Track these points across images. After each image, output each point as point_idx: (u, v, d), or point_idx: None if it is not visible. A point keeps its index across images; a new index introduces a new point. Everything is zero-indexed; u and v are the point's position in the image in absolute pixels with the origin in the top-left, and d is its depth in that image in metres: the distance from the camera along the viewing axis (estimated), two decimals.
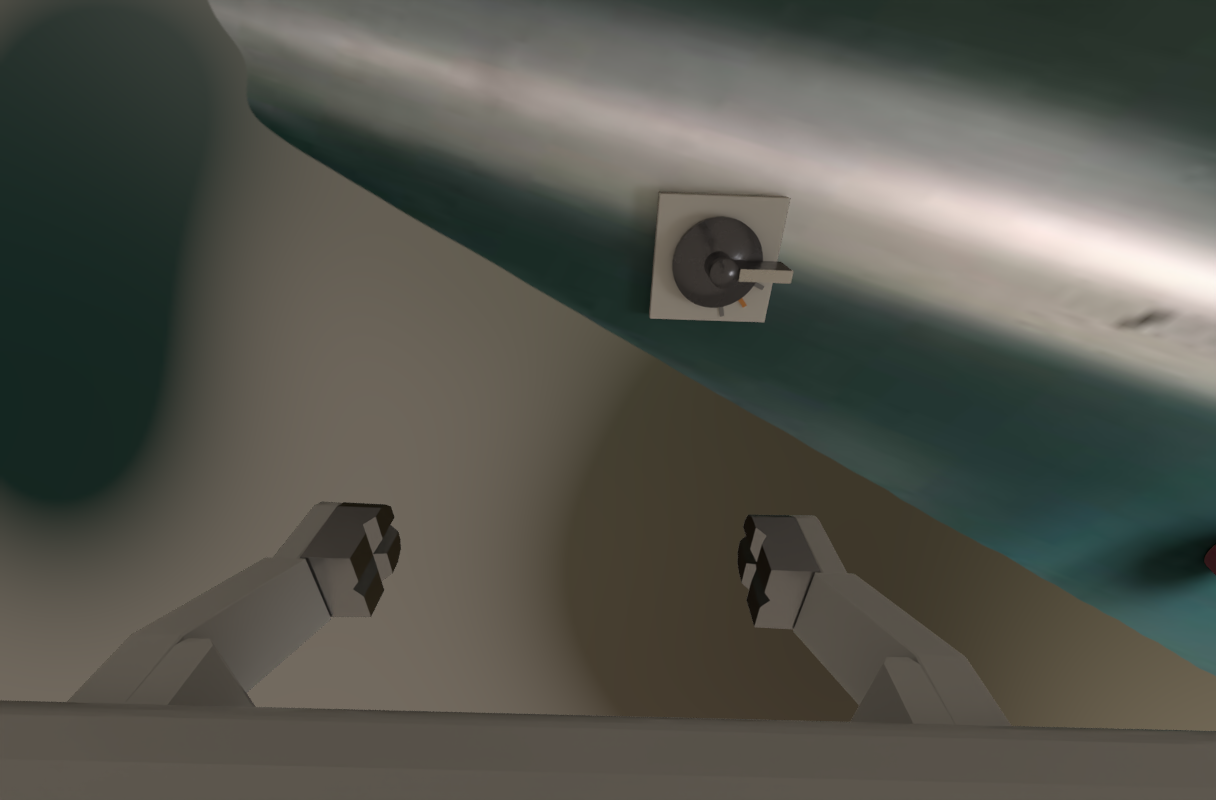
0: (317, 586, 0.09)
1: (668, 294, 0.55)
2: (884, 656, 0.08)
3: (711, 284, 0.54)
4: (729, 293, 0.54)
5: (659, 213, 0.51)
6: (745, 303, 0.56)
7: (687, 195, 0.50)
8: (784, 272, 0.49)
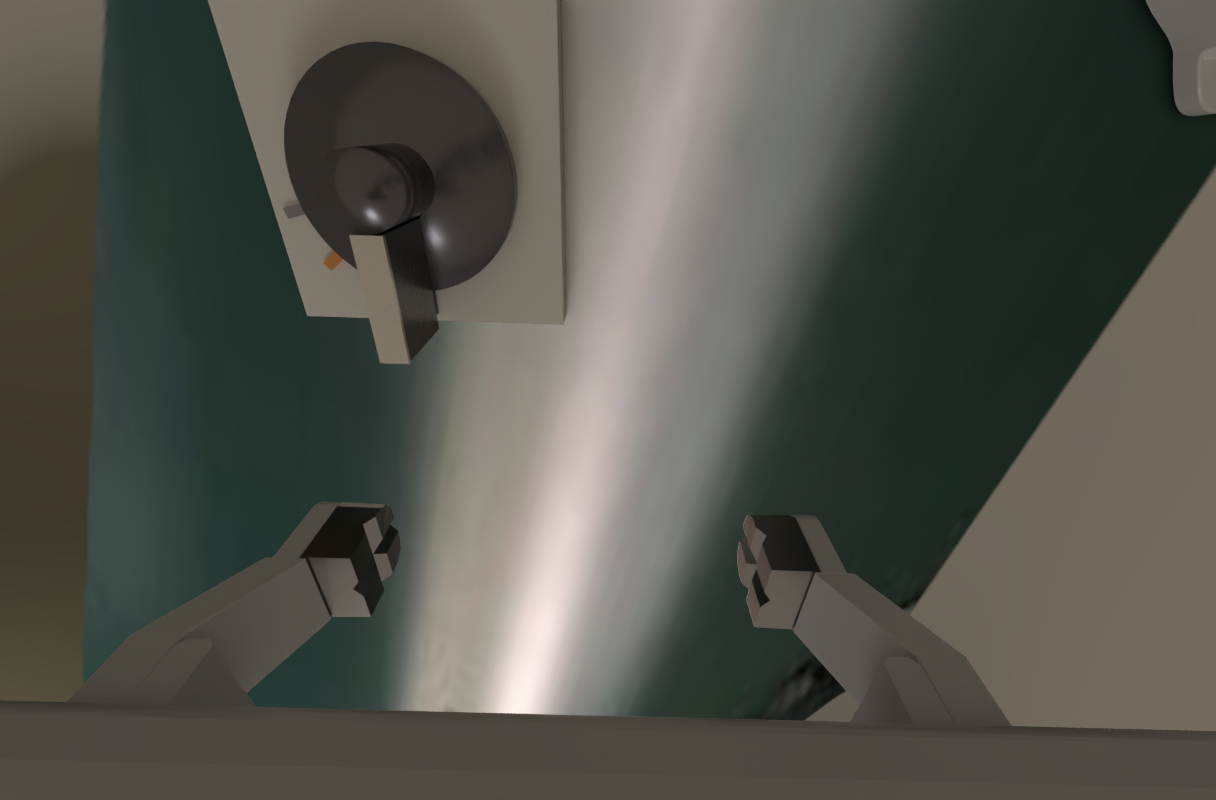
0: (317, 586, 0.09)
1: (293, 42, 0.19)
2: (883, 656, 0.08)
3: None
4: (340, 223, 0.22)
5: None
6: (334, 266, 0.24)
7: (556, 79, 0.20)
8: (401, 345, 0.20)
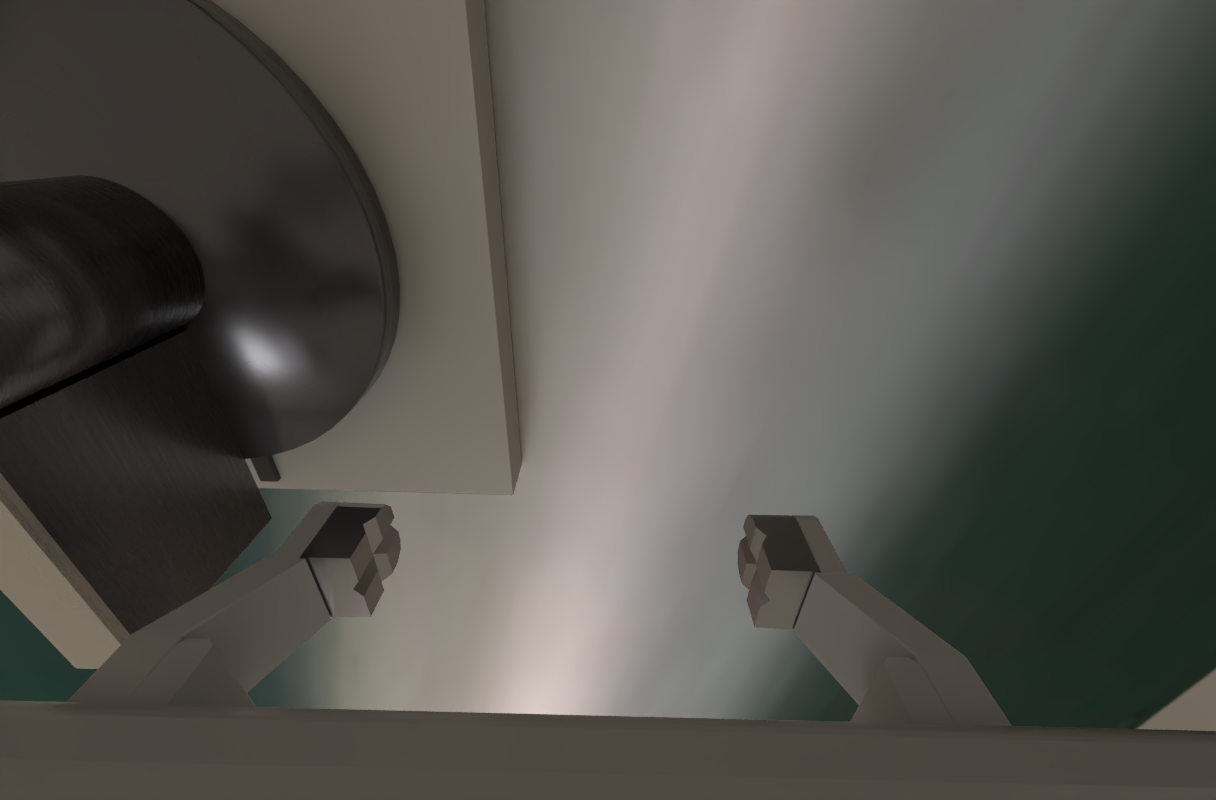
0: (317, 586, 0.09)
1: None
2: (883, 656, 0.08)
3: None
4: None
5: None
6: None
7: (463, 24, 0.08)
8: (111, 641, 0.09)
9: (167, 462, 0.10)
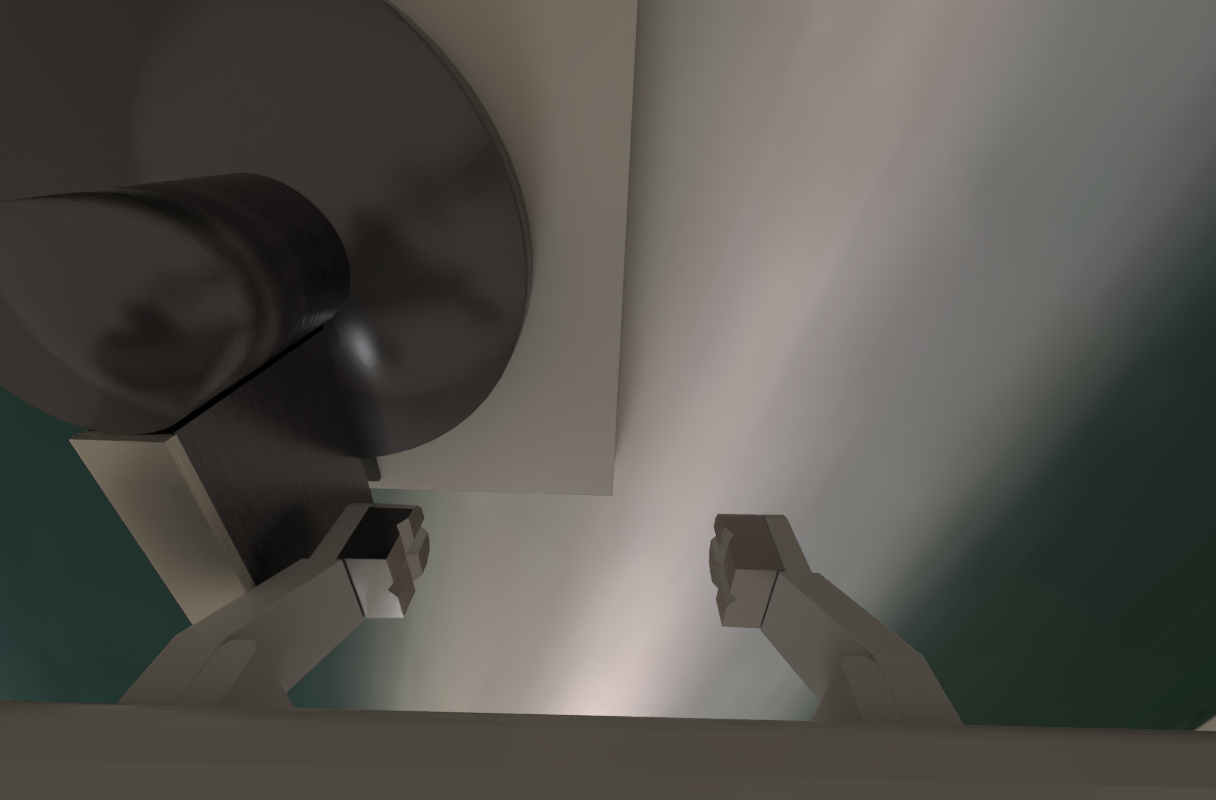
0: (352, 587, 0.09)
1: None
2: (843, 654, 0.08)
3: None
4: None
5: None
6: None
7: (631, 23, 0.08)
8: None
9: (308, 462, 0.10)
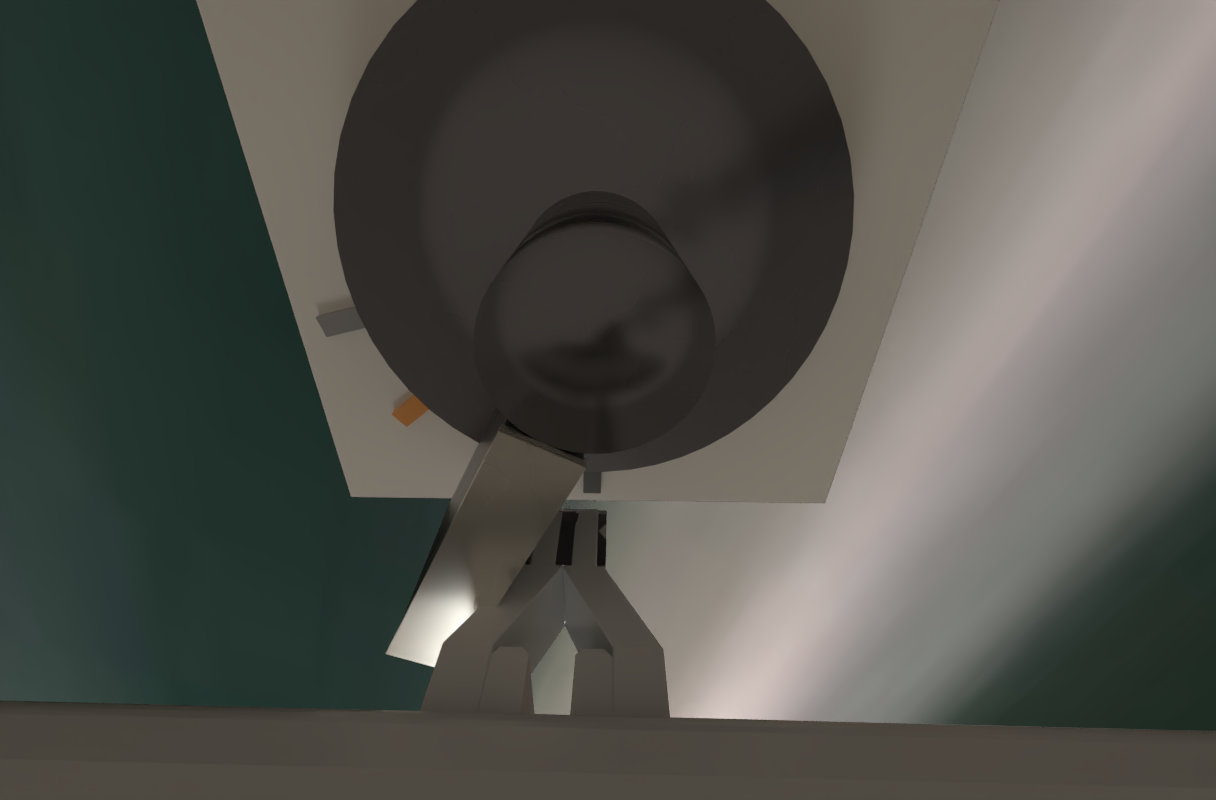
0: (564, 593, 0.09)
1: None
2: (602, 648, 0.08)
3: (498, 197, 0.09)
4: (409, 279, 0.09)
5: None
6: (412, 418, 0.12)
7: (976, 46, 0.09)
8: None
9: None
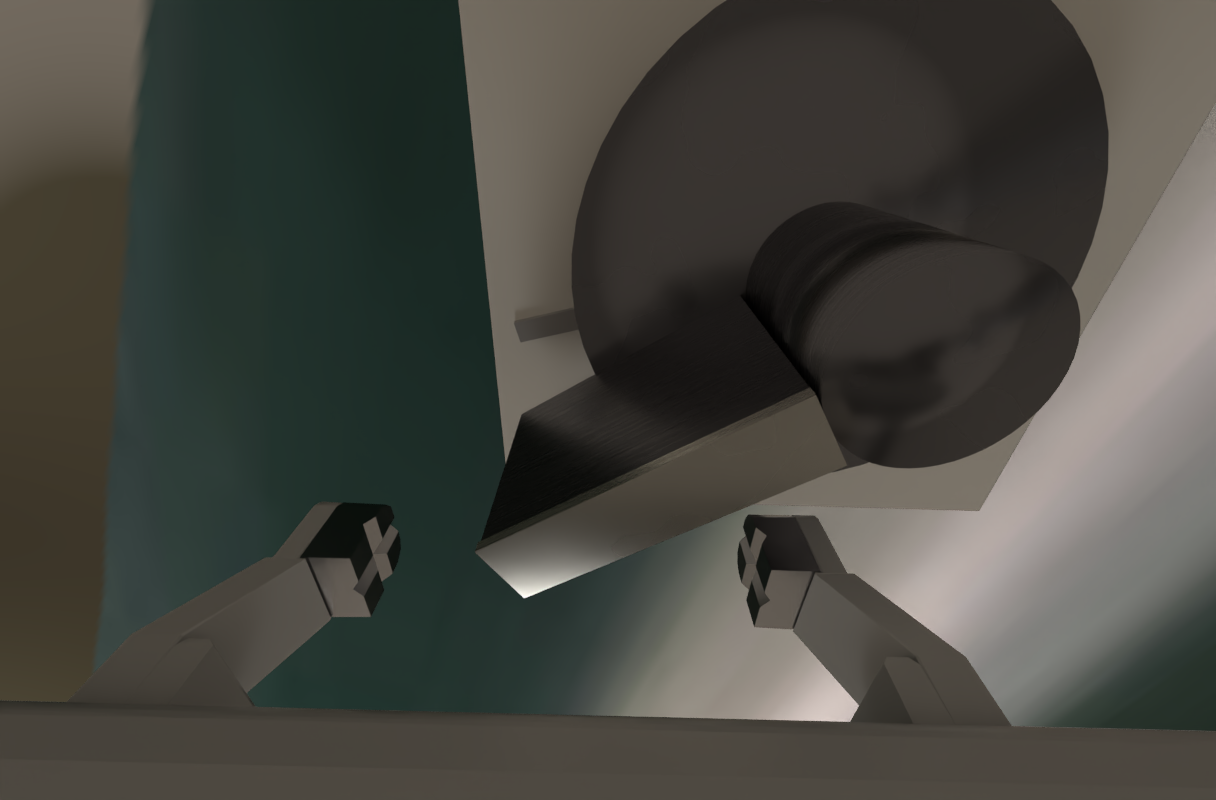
0: (317, 586, 0.09)
1: None
2: (884, 656, 0.08)
3: (801, 164, 0.08)
4: (662, 184, 0.08)
5: None
6: None
7: None
8: (561, 572, 0.08)
9: None
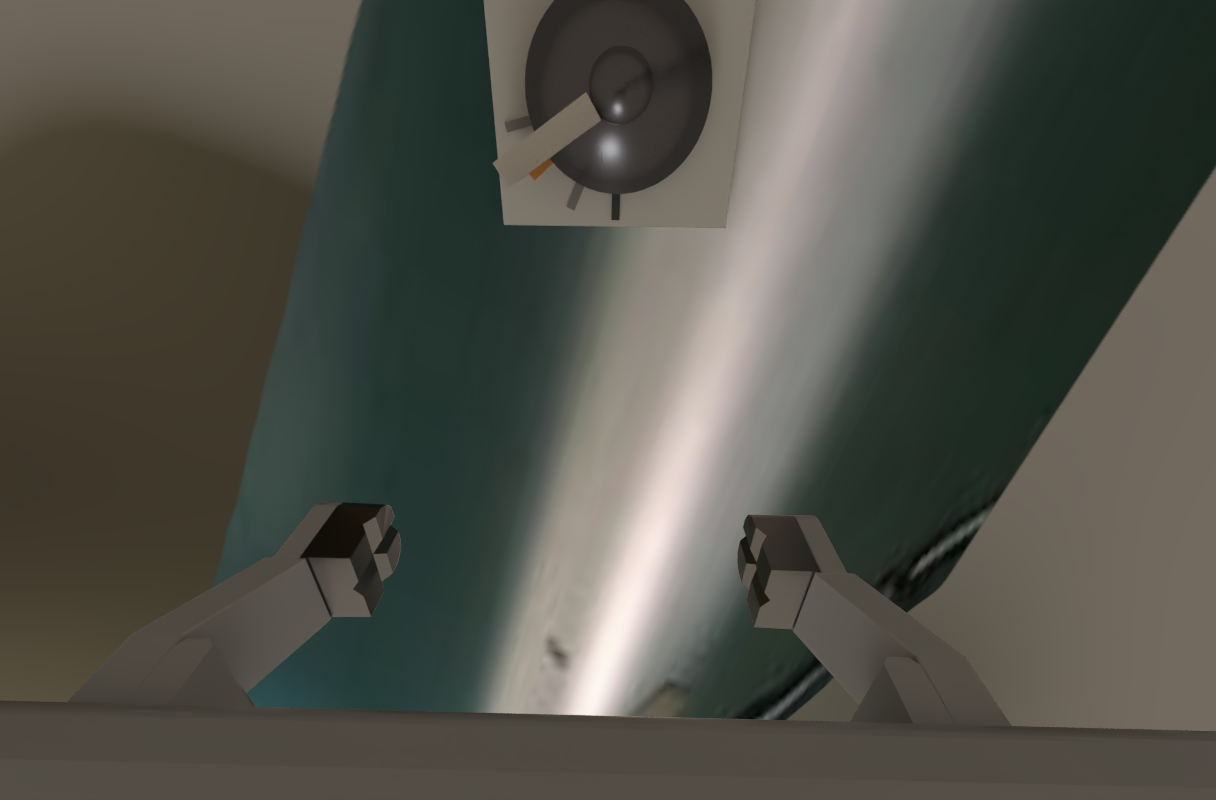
0: (317, 586, 0.09)
1: None
2: (884, 656, 0.08)
3: (602, 43, 0.24)
4: (554, 52, 0.24)
5: None
6: (537, 177, 0.28)
7: (753, 3, 0.24)
8: (520, 173, 0.23)
9: None
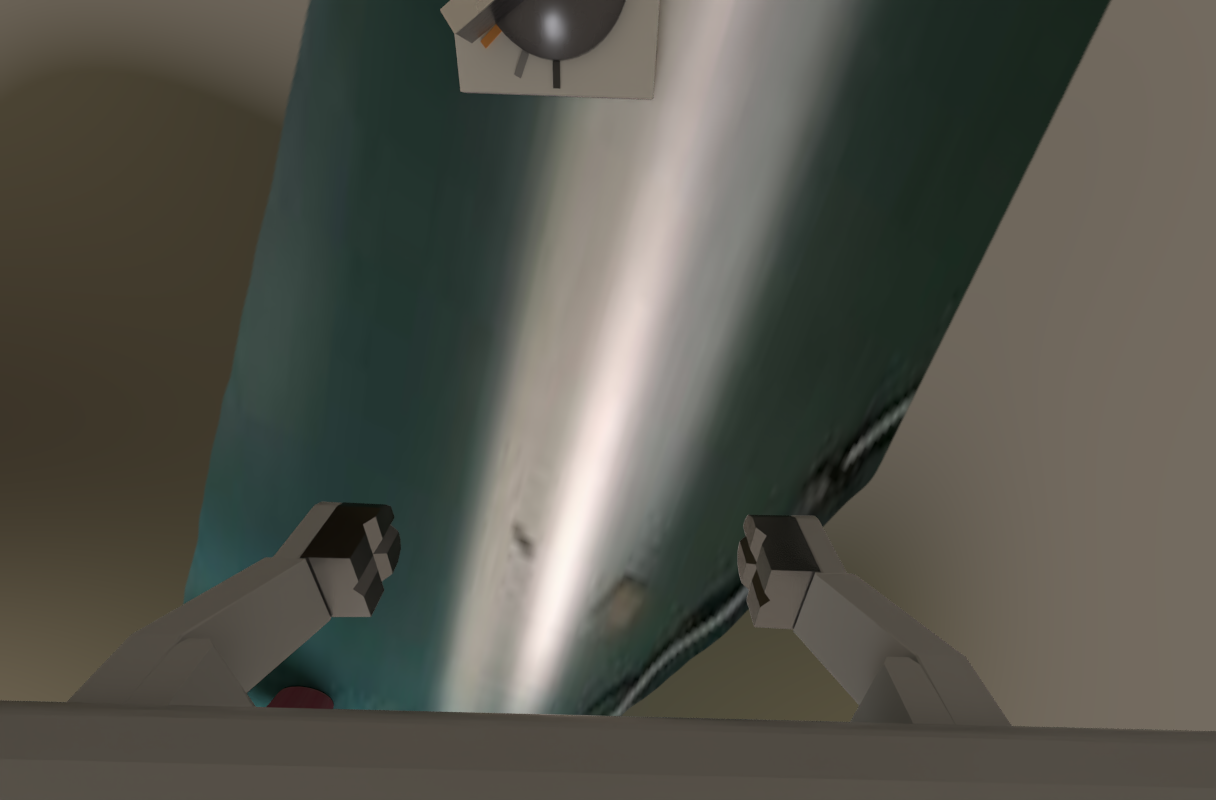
0: (317, 586, 0.09)
1: None
2: (883, 656, 0.08)
3: None
4: None
5: None
6: (487, 45, 0.33)
7: None
8: (463, 20, 0.28)
9: (505, 5, 0.29)
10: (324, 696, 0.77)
